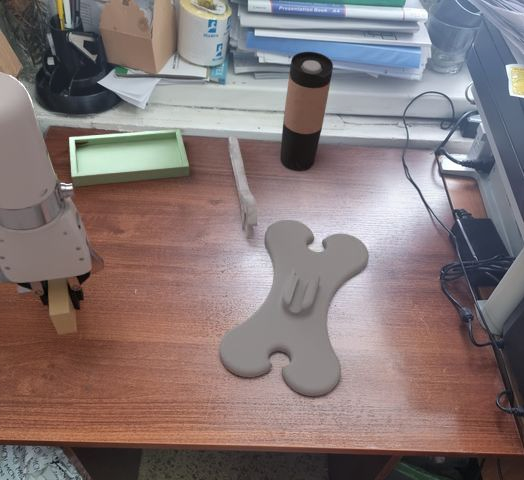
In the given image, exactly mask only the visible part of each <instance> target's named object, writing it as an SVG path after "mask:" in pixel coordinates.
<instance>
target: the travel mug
mask: <svg viewBox="0 0 524 480" xmlns="http://www.w3.org/2000/svg"><path fill="white" fill-rule="evenodd" d="M333 69H334V64H333V61H332V60H331V59H330V58H329V57H328V56H327V55H325V54H322V53H319V52H315V51H301V52H298V53H296V54H295V55H293V56H292V58H291V60H290V66H289V75H288V83H287V88H286V89H287V90H286V97H285V105H284V111H283V112H284V113H283V119H282V120H283V121H282V133H281V144H280V157H279V159H280V162H281V163H282V165H283V166H284V167H285V168H287V169H289V170H290V171H296V172H302V171H303V172H304V171H307V170H309V169H311V168H312V167H313V166H314V163H315V159H316V156H317V151H318V147H319V142H320V138H321V133H322V129H323V125H324V121H325V120H324V118H325V115H326V110H327V109H326V108H327V103H328V97H329V91H330V88H331V87H330V86H331V82H332V81H331V80H332V75H333Z"/></svg>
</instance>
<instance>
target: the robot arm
mask: <svg viewBox="0 0 524 480" xmlns="http://www.w3.org/2000/svg"><path fill="white" fill-rule="evenodd" d="M51 160H52V159H51V157H50V154H49V151H48V148H47V145H46V142H45V138H44V135H43V132H42V129H41V125H40V121H39V119H38V116H37V112H36V110H35V106H34V104H33V101H32V98H31V96H30V93H29V92H28V90H27V88H26V87H25V86H24V84H23V83H22V82H21V81H19V80H18V79H17V78H16V77H14V76H12V75H10V74H7V73H5V72H2V71H0V283H1V284H3V283H4V284H11V285H17V286H18V285H19V286H21V287H24V288H27V289H30V290H32V291H33V292H34V294H35V295H38V296H37V297H39V299H40V301H41V303H42V305H43V306H44V307H45V306H47V308H48V309H49V297H48V280H50V279H58V278H65V277H66V278H67V280H68V291H69V295H70V298H71V301H72V303H73V306H74V309H75V311H80V310H81V301H84V300H85V297H84V296H85V295H84V291H83V288H82V285H83V284H84V283H86V281H87V280H88V279H89V278H90V277H91V275H95V274H96V273H99V272H101V271H103V270H105V261H104V259H103V257H101V255H99V253H97V251H95V250H94V249H93V248H92V247H91V244H90V243H91V242H90V240H89V237H88V232H87V231H86V228H85V224H84V222H83V220H82V218H81V216H80V214H79V211H78V209H77V207H76V205H75V203H74V202H73V199H72V198H73V197H76V192H75V188H74V184H73V183H65V182H61V180H59V178H58V176H57V173H55V170H54V167H53V164H52V161H51Z"/></svg>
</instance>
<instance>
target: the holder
mask: <svg viewBox="0 0 524 480" xmlns="http://www.w3.org/2000/svg"><path fill="white" fill-rule="evenodd" d="M263 239H264V240H263V242H264V246H265V248H266V250H267V252H268V253H269V256H270V259H271V262H272V269H273V279H272V284H271V287H270V290H269V292H268V295H267V297H266V298H265V300H264V301H263V303H262V304H261V306H259V308H258V309H257V310H256V311H255V312H254V313H252V315H250V316H249V317H248V318H247V319H245V320H243V321H241V323H239V324H237V325H235V326H234V327H231V328H230V329H228V331H226V332H225V333H224V335H223V336H222V337H221V340H220V342H219V347H218V354H219V359H220V361H221V363H222V364H223V366H224V367H225V368H226V369H227V370H228V371H229V372H230V373H233V374H234V375H236V376H240V377H243V378H255V377H258V376H262V375H264V374H266V373H267V372H269V371H270V370H271V369H272V368H273V364H272V363H271V361H270V356H271V354H273V353H275V352H282V353H285V354H286V355H287V356H288V357H289V358H290V362H289V364H287V365H286V366H282V367H281V374H282V377H283V380H284V381H285V383H286V384H287V385H288V387H289V388H291V389H292V390H293V391H295V392H297V393H298V394H301V395H304V396H308V397H318V396H322V395H325V394H328V393H329V392H330V391H332V390H333V389H335V387H336V386H337V385H338V383H339V380H340V378H341V374H342V365H341V361H340V359H339V358H338V356H337V354H336V352H335V349H334V348H333V345H332V341H331V340H330V336H329V330H328V310H329V307H330V303H331V301H332V298H333V297H334V295H335V294H336V292H337V291H338V289H339V288H340V287H341V286H342V285H343V284H344V283H345V282H346V281H347V280H349V279H350V278H352V277H353V276H355V275H357V274H358V273H360V272H362V271H363V270H364V269H365V268H366V266H367V264H368V261H369V257H370V254H369V250H368V248H367V246H366V244H365V243H364V242H363V241H362V240H361V239H359V238H358V237H356V236H354V235H351V234H348V233H333V234H329V235H327V236H326V237H324V238H323V239H322V241H321V245H322V246H323V247H324V249H323V250H322V251H314V250H312V249H310V248H309V247H308V244H311V243H314V242H315V235H314V232H313V231H312V230H311V228H309V227H308V226H307V225H306V224H304V223H303V222H301V221H298V220H295V219H281V220H277V221H274V222H273V223H271V224H270V225H269V226H268V227H267V229H266V230H265V233H264V238H263Z"/></svg>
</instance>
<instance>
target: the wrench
mask: <svg viewBox="0 0 524 480" xmlns="http://www.w3.org/2000/svg"><path fill="white" fill-rule="evenodd" d="M240 148H241V147H240V143H239V139H238V137H237V136H229V137H228V152H229V157H230V161H231V166H232V171H233V175H234V180H235V185H236V189H237V195H238V199H239V207H240V215H241V225H242V228H241V229H242V230H244V232H245V235H246V237H247V238H248V239H253V238H254V237H255V232H254V227H258V209H257V202H256V198H255V197H254V195H253V194H252V192H251V190H250V187H249V182H248V179H247V173H246V170H245V165H244V160H243V155H242V153H241V149H240Z"/></svg>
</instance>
